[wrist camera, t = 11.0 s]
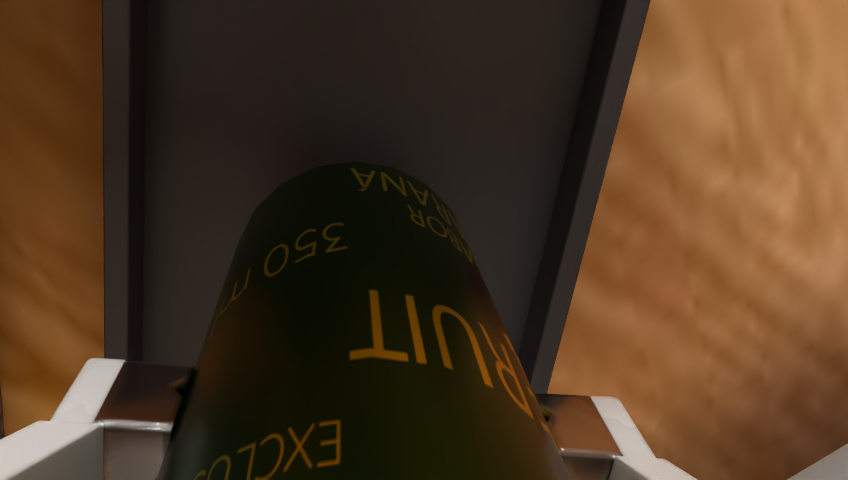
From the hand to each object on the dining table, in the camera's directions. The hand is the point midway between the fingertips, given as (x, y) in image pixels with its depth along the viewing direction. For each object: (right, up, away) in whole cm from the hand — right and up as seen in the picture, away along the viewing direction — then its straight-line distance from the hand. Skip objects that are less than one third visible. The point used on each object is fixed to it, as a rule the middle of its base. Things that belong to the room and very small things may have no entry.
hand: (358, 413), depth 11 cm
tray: (-1, +4, +9) cm, 9 cm away
